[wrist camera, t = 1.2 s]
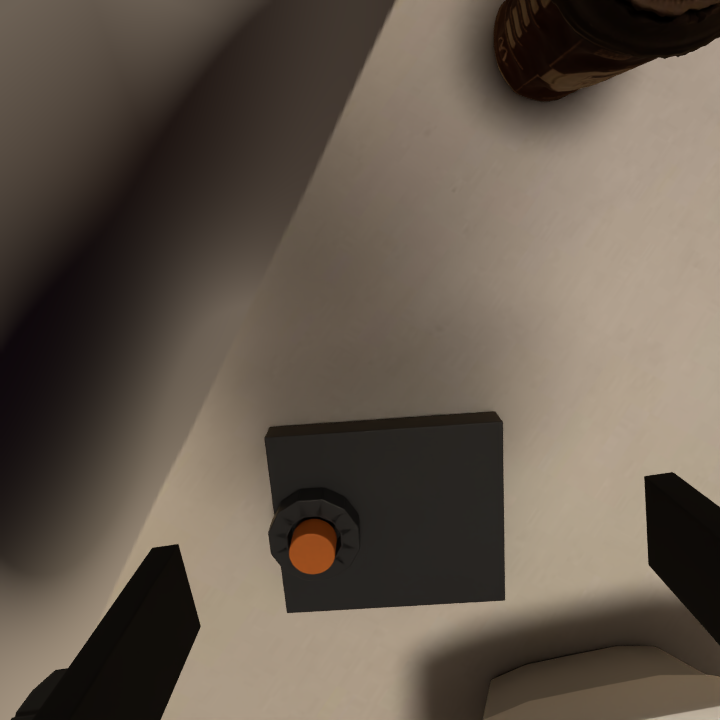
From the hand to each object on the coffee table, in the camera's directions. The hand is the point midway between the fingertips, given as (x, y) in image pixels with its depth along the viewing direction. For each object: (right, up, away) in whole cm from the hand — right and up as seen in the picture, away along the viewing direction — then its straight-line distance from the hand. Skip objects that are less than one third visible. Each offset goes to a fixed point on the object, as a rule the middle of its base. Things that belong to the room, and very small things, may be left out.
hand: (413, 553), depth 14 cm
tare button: (-4, -6, +18) cm, 20 cm away
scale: (0, -5, +21) cm, 22 cm away
